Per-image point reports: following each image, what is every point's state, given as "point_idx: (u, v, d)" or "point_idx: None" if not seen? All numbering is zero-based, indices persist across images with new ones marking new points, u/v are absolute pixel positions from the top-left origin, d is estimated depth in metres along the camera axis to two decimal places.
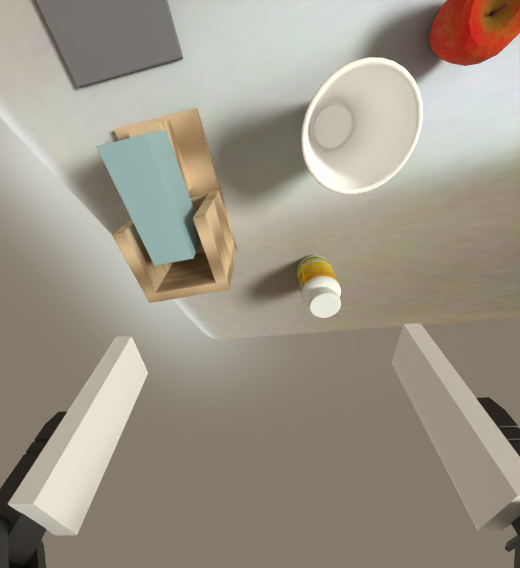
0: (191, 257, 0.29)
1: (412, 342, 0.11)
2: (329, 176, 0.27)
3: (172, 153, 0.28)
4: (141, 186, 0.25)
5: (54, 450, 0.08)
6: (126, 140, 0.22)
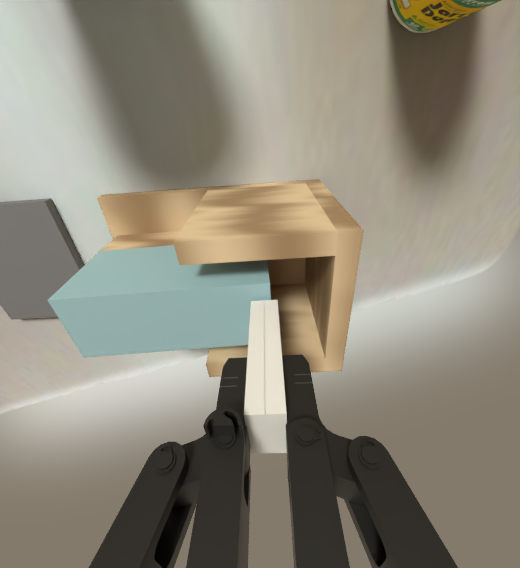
0: (267, 285, 0.14)
1: (264, 313, 0.14)
2: None
3: (126, 252, 0.19)
4: (132, 324, 0.15)
5: (256, 380, 0.10)
6: (64, 324, 0.15)
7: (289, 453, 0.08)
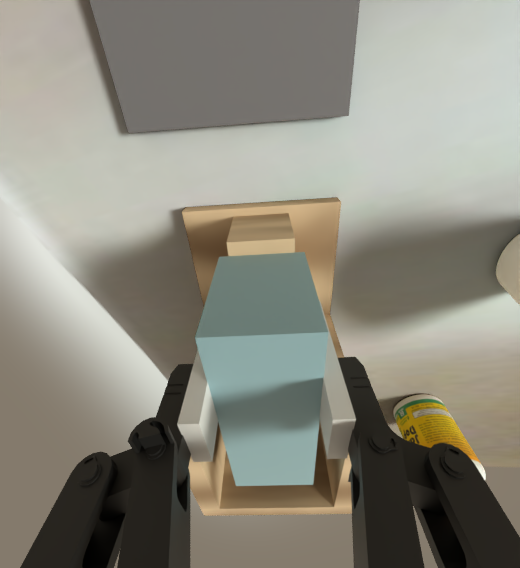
0: (310, 483, 0.15)
1: None
2: None
3: None
4: (269, 403, 0.11)
5: (197, 388, 0.10)
6: (277, 337, 0.09)
7: (362, 456, 0.08)
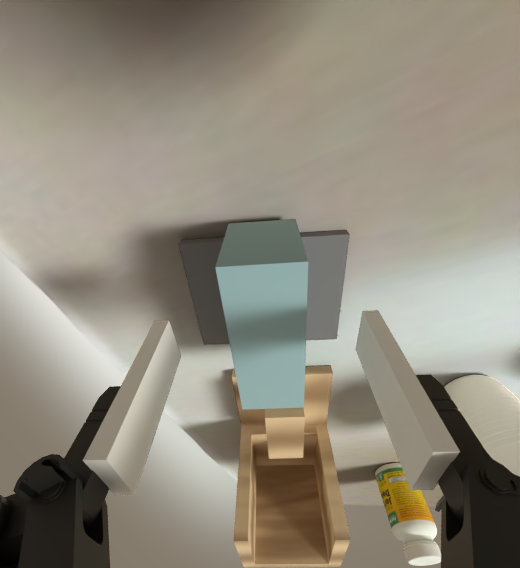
0: (302, 406, 0.19)
1: (368, 326, 0.12)
2: None
3: None
4: (268, 324, 0.15)
5: (116, 416, 0.09)
6: (272, 265, 0.13)
7: (470, 488, 0.07)
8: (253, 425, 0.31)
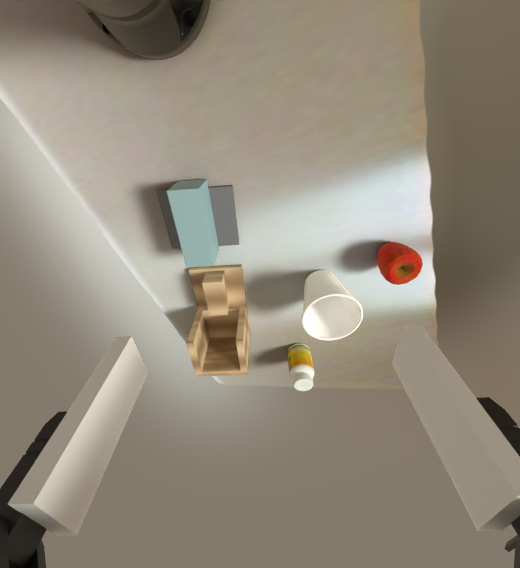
0: (212, 264, 0.42)
1: (412, 341, 0.11)
2: (314, 323, 0.48)
3: (208, 194, 0.42)
4: (189, 217, 0.38)
5: (54, 450, 0.08)
6: (186, 190, 0.36)
7: None
8: (204, 306, 0.55)
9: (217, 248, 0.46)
